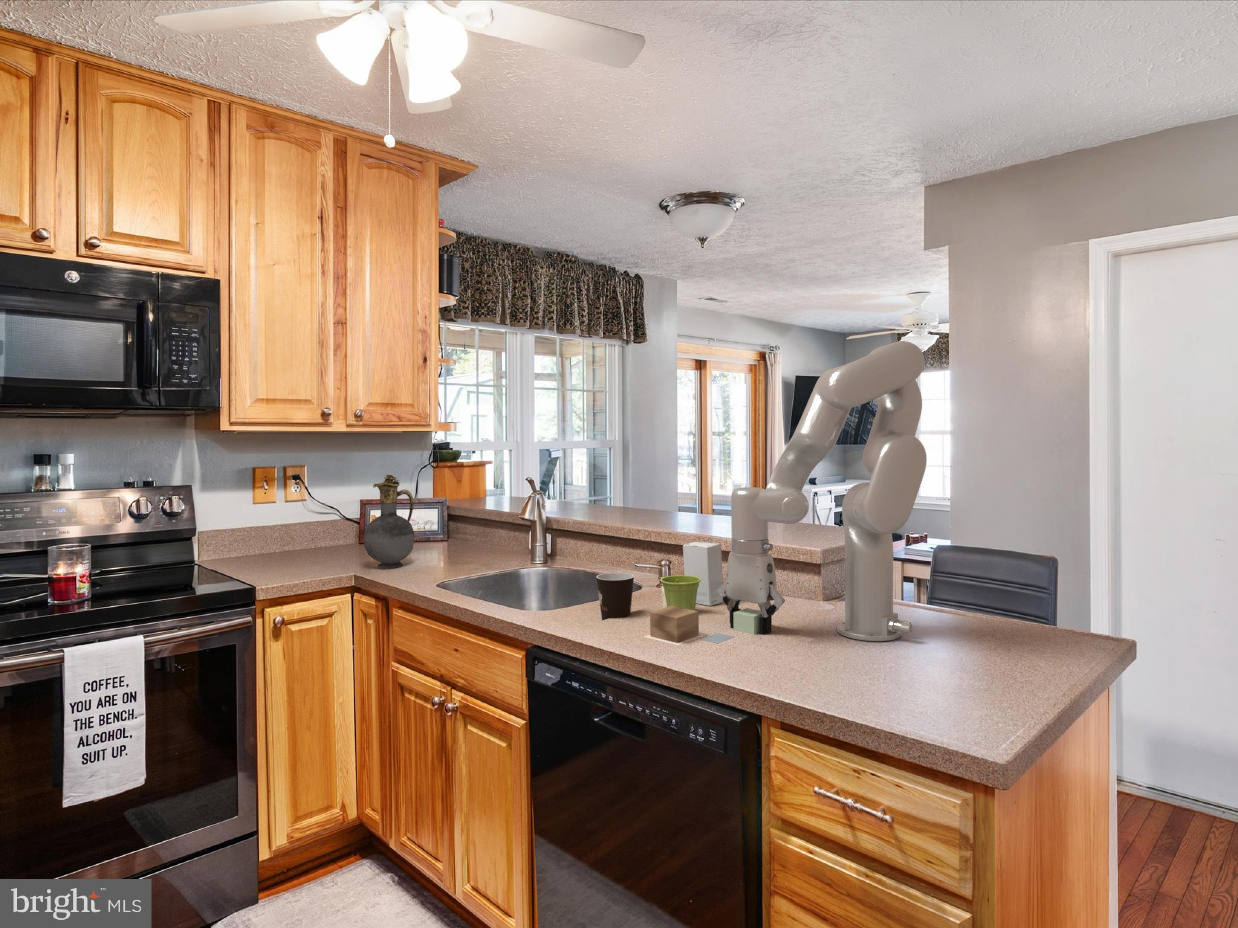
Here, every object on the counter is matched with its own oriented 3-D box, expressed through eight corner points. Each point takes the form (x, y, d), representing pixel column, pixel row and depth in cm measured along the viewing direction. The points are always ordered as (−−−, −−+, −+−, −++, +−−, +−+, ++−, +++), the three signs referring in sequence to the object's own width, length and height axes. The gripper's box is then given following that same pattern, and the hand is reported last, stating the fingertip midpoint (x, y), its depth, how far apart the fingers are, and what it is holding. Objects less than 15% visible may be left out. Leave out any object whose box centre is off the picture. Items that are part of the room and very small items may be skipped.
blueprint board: (745, 642, 147) (744, 636, 147) (696, 661, 136) (696, 654, 136) (668, 624, 161) (668, 619, 161) (619, 640, 150) (619, 635, 150)
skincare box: (724, 602, 181) (723, 543, 180) (709, 607, 177) (708, 546, 176) (698, 597, 187) (697, 540, 186) (682, 601, 183) (682, 542, 182)
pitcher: (359, 570, 232) (356, 476, 230) (402, 560, 249) (399, 472, 247) (384, 572, 227) (381, 476, 225) (427, 562, 244) (424, 472, 242)
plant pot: (654, 618, 167) (653, 581, 167) (670, 609, 175) (670, 573, 175) (692, 623, 163) (691, 584, 162) (707, 613, 171) (706, 576, 171)
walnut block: (698, 635, 149) (698, 611, 148) (677, 642, 143) (676, 617, 143) (672, 629, 153) (671, 605, 153) (650, 636, 148) (650, 612, 148)
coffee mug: (630, 625, 161) (630, 580, 161) (593, 623, 163) (592, 579, 163) (639, 612, 173) (639, 570, 172) (604, 611, 175) (603, 569, 174)
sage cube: (767, 635, 152) (767, 611, 152) (753, 640, 149) (753, 616, 149) (747, 631, 156) (746, 607, 156) (733, 636, 152) (733, 612, 152)
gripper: (796, 548, 148) (796, 635, 149) (726, 540, 160) (726, 621, 161) (776, 553, 143) (777, 643, 144) (705, 545, 155) (706, 628, 156)
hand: (750, 630), depth 152 cm, fingers open, 6 cm apart
